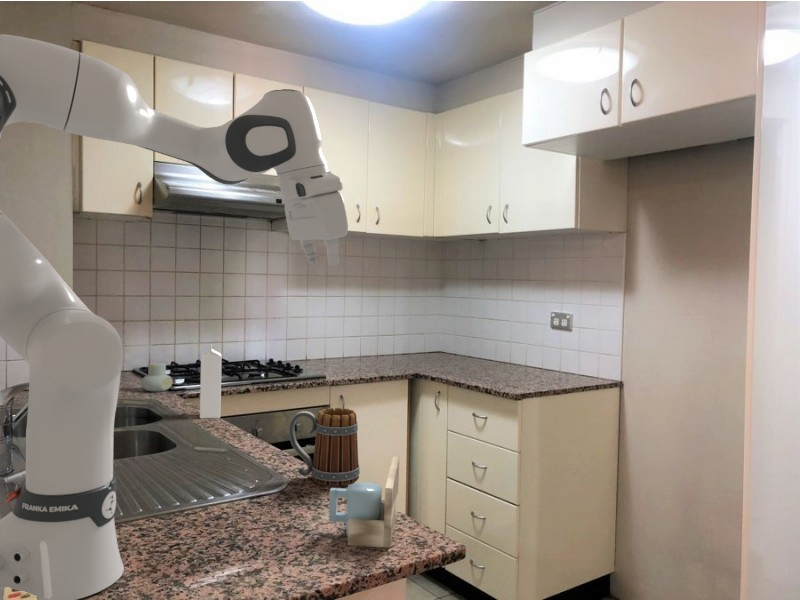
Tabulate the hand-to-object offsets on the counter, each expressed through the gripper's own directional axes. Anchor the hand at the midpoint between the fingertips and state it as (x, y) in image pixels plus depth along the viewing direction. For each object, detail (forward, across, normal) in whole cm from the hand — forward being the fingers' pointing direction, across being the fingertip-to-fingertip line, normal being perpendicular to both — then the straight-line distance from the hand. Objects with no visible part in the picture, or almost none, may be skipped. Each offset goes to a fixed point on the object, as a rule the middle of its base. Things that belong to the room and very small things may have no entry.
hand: (323, 263), depth 109 cm
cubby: (+47, +7, -4) cm, 48 cm away
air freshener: (+46, -133, -24) cm, 143 cm away
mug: (+49, -20, -4) cm, 53 cm away
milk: (+48, -87, -14) cm, 100 cm away
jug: (+46, +8, -9) cm, 48 cm away
